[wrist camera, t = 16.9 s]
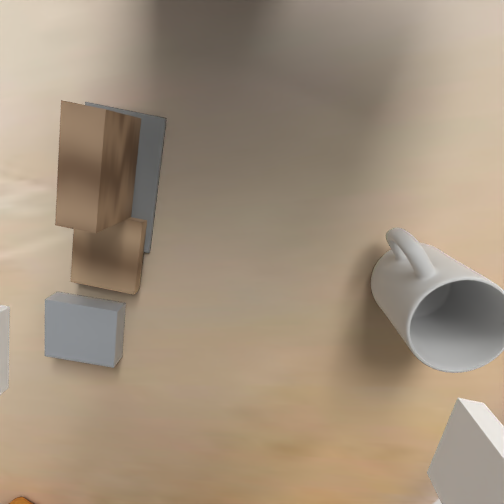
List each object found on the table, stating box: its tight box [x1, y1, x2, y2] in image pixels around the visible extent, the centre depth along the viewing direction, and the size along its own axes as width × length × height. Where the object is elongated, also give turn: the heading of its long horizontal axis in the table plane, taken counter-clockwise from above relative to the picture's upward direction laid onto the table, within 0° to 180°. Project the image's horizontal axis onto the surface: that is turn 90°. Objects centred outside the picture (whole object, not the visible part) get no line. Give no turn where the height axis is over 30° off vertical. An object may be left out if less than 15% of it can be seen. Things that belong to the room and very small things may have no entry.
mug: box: [371, 227, 504, 373], centre depth 34 cm, size 12×8×11 cm
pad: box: [85, 102, 166, 253], centre depth 38 cm, size 14×8×1 cm, turn 169°
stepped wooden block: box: [55, 100, 147, 295], centre depth 34 cm, size 18×7×8 cm, turn 169°
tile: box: [45, 292, 126, 368], centre depth 42 cm, size 7×3×8 cm
